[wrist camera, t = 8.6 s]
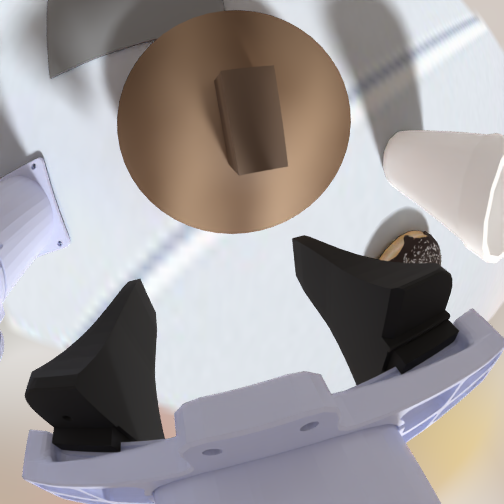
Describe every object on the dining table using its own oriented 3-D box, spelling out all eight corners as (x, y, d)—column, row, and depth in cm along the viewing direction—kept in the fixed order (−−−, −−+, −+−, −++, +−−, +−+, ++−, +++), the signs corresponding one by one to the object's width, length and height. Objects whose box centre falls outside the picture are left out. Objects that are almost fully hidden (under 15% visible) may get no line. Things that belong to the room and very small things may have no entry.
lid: (153, 251, 17) (147, 285, 14) (104, 42, 10) (83, 23, 7) (349, 205, 19) (381, 226, 16) (328, 15, 12) (361, -2, 9)
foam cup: (392, 97, 20) (512, 113, 9) (442, 145, 23) (537, 179, 12) (355, 182, 23) (467, 243, 12) (410, 216, 27) (499, 275, 15)
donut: (346, 307, 31) (362, 328, 27) (389, 215, 26) (414, 230, 23) (401, 310, 34) (417, 327, 31) (440, 236, 30) (460, 249, 26)
